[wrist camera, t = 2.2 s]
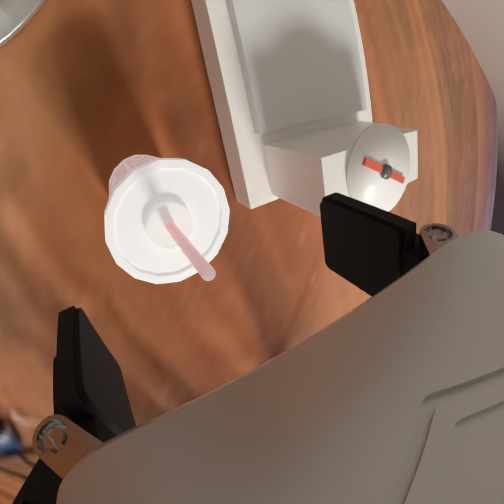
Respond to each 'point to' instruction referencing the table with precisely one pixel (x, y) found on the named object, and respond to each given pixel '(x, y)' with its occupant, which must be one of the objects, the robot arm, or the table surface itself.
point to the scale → (299, 104)
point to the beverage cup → (165, 218)
